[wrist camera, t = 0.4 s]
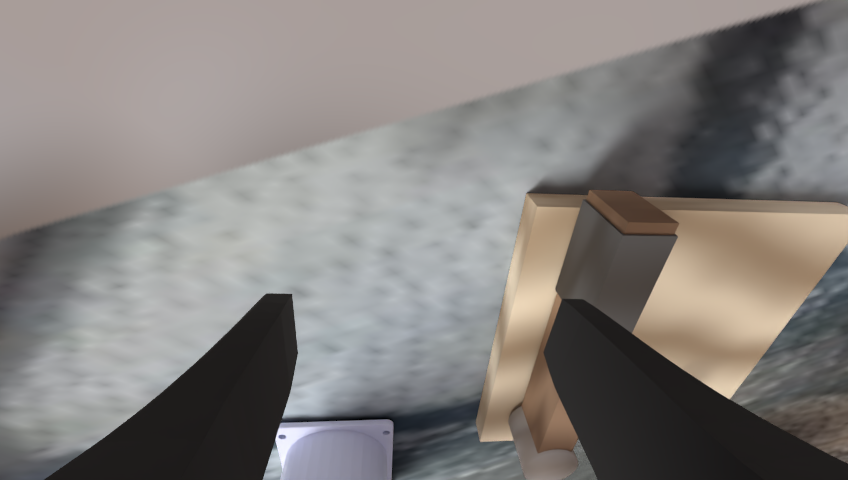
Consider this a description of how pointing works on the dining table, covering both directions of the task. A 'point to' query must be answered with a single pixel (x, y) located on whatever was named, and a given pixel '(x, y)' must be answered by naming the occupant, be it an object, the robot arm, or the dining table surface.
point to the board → (672, 288)
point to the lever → (604, 289)
